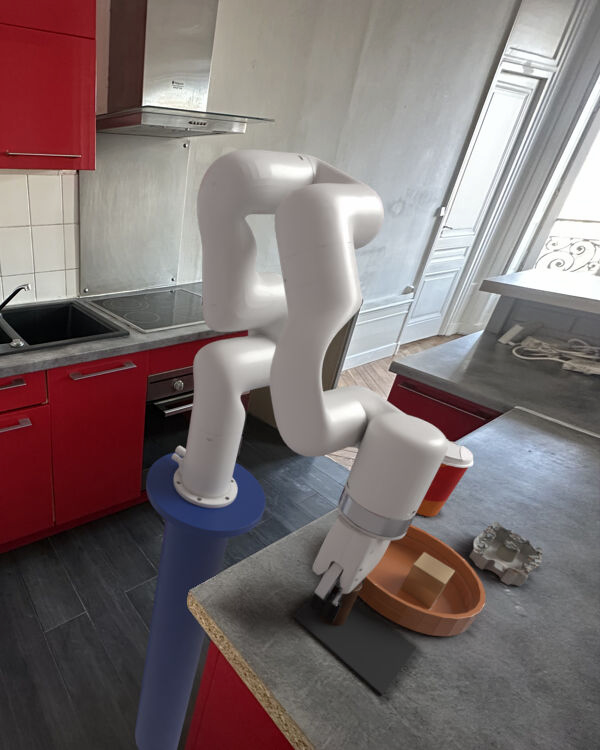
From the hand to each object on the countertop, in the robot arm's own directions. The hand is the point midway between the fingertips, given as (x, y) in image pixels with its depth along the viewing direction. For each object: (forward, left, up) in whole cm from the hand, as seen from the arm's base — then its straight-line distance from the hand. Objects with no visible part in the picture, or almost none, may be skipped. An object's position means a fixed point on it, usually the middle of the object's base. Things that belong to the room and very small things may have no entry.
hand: (333, 602), depth 59 cm
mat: (+3, 0, -2) cm, 4 cm away
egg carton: (+11, +34, -3) cm, 36 cm away
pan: (+3, +15, -2) cm, 16 cm away
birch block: (+6, +15, -2) cm, 16 cm away
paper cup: (-2, +37, -3) cm, 37 cm away
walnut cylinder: (0, 0, -2) cm, 2 cm away
